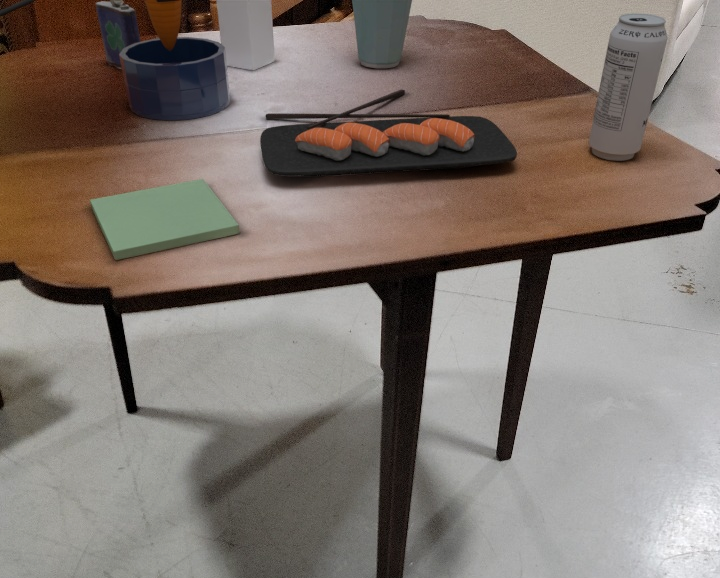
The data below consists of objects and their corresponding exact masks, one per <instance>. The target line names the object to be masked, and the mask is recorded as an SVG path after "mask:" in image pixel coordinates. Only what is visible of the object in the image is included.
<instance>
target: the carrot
mask: <svg viewBox="0 0 720 578" xmlns="http://www.w3.org/2000/svg"><path fill="white" fill-rule="evenodd" d="M182 1H183V0H179V1H168V2H157V1H156V0H144V3H145V6H146V10H147V13H148V16H149V19H150V22H151V25H152V27H153V29H154V31H155V33H156V35H157V37H158V39H160V40H161V42H162V43H163V45H164V47H165V48H166V49H168V50H169V51H171V50H172V49H173V48H174V46H175V43H176V40H177V37H179V33H180V28H181V20H182Z"/></svg>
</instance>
